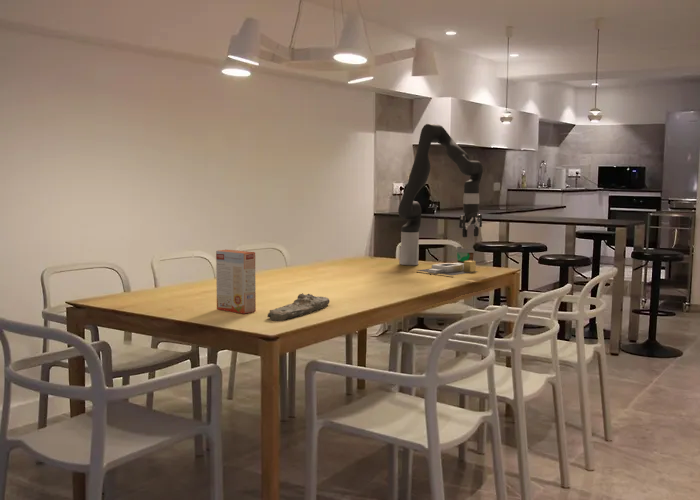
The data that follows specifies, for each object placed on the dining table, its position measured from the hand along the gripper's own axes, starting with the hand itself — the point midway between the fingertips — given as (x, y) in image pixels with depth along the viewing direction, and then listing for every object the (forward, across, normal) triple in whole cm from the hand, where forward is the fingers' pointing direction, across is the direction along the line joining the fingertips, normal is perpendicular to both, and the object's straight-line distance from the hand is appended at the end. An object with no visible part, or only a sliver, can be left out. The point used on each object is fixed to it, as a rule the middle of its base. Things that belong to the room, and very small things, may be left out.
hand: (470, 236), depth 347 cm
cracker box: (+18, +138, +7) cm, 139 cm away
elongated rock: (+18, +122, +22) cm, 126 cm away
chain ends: (+18, +7, -8) cm, 21 cm away
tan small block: (+17, 0, 0) cm, 17 cm away
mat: (+18, +7, -8) cm, 21 cm away
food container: (+18, -17, -18) cm, 31 cm away
